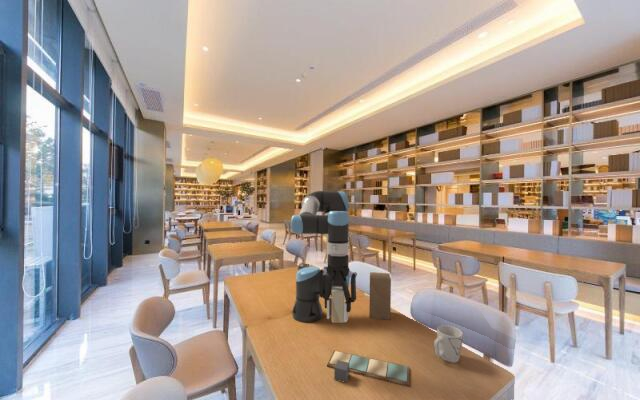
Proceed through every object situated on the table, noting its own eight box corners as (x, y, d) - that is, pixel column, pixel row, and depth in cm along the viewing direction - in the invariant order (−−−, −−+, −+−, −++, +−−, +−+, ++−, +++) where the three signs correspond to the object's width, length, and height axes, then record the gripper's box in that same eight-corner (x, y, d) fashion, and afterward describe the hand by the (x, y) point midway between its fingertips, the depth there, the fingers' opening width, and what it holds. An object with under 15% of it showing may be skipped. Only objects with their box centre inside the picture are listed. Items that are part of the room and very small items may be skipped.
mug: (445, 369, 86) (445, 340, 86) (425, 355, 94) (426, 329, 94) (467, 361, 91) (468, 333, 91) (447, 348, 99) (447, 323, 99)
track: (326, 366, 87) (326, 363, 87) (334, 351, 96) (334, 349, 96) (409, 386, 78) (409, 383, 78) (409, 368, 87) (409, 365, 87)
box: (331, 316, 93) (331, 286, 93) (342, 316, 93) (342, 286, 93) (332, 323, 87) (332, 291, 88) (344, 323, 87) (344, 291, 88)
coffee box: (299, 287, 164) (299, 263, 164) (309, 288, 164) (309, 263, 164) (297, 293, 155) (297, 267, 155) (308, 293, 155) (308, 267, 154)
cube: (334, 379, 81) (334, 367, 81) (337, 371, 85) (337, 360, 85) (346, 383, 80) (346, 370, 80) (349, 374, 84) (349, 362, 84)
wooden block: (390, 320, 121) (391, 279, 121) (369, 318, 123) (369, 277, 123) (389, 311, 131) (389, 273, 131) (369, 309, 133) (369, 271, 133)
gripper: (310, 253, 90) (309, 318, 90) (361, 258, 83) (360, 328, 83) (318, 250, 97) (317, 310, 97) (366, 254, 90) (365, 319, 90)
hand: (337, 318), depth 90 cm, fingers closed on box, 6 cm apart
